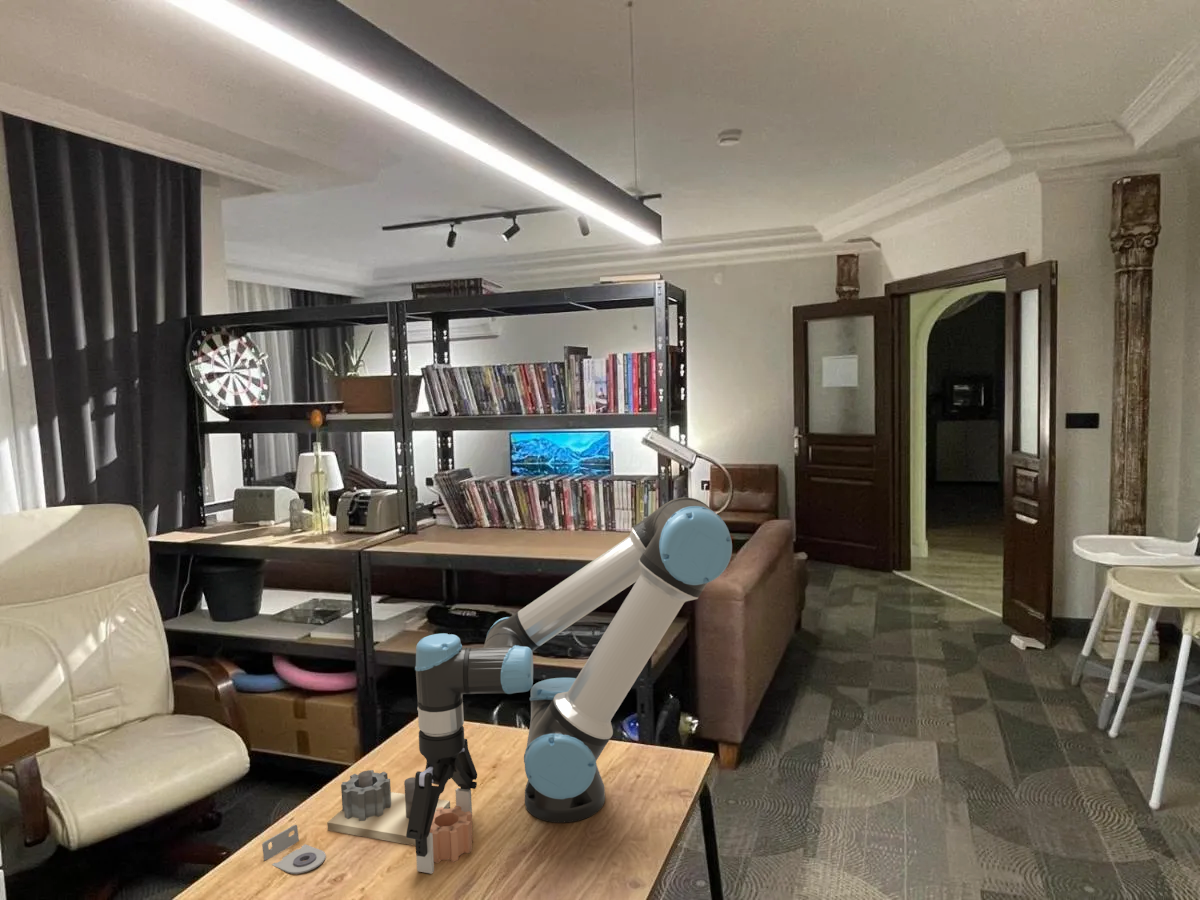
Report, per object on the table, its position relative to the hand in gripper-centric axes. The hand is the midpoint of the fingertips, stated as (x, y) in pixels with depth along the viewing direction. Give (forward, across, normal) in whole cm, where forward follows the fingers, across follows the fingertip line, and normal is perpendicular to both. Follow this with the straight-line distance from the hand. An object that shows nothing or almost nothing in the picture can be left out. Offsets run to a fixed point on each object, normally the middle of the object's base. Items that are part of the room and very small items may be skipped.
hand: (446, 847), depth 132 cm
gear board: (0, -5, -14) cm, 15 cm away
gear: (0, 0, 0) cm, 0 cm away
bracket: (+1, +9, -23) cm, 25 cm away
